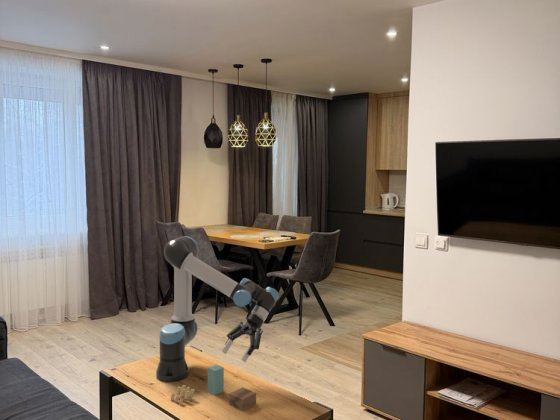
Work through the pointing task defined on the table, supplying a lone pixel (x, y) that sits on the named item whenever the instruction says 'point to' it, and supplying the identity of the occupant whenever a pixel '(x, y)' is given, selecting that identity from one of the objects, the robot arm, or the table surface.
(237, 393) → the walnut base
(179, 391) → the ammunition
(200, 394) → the table surface
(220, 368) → the teal block
